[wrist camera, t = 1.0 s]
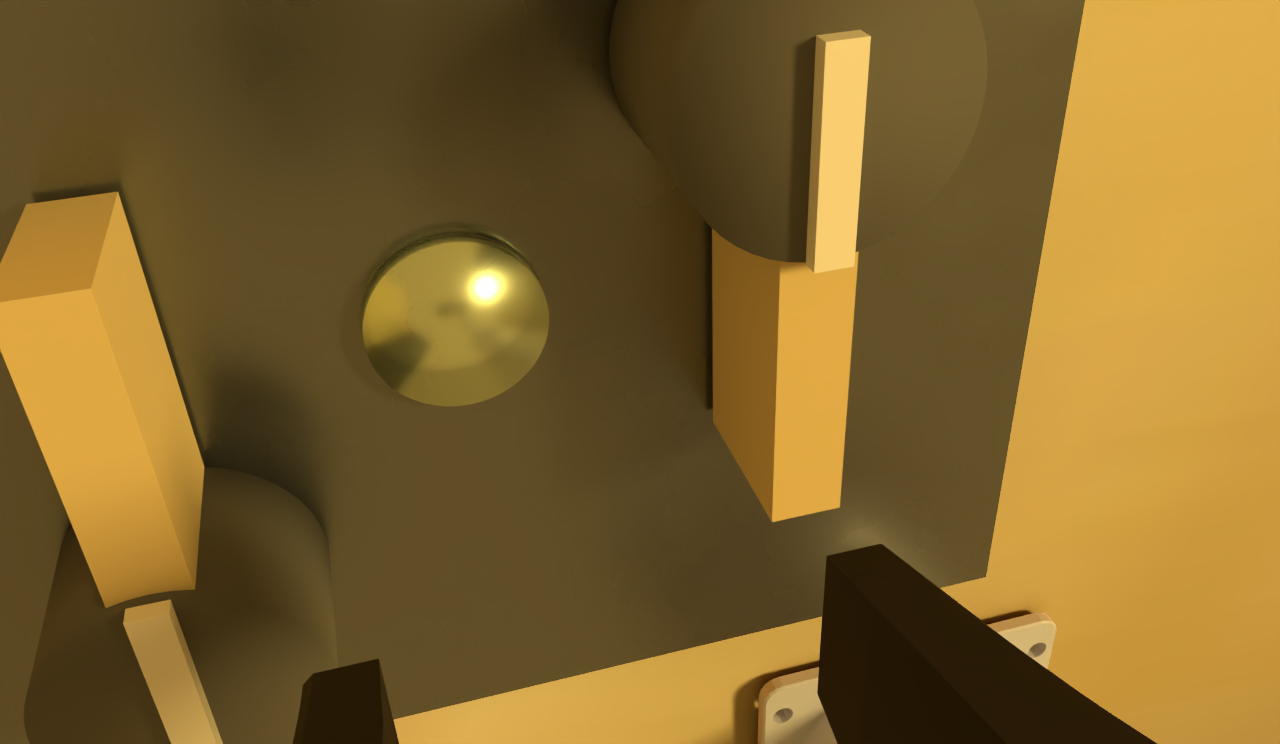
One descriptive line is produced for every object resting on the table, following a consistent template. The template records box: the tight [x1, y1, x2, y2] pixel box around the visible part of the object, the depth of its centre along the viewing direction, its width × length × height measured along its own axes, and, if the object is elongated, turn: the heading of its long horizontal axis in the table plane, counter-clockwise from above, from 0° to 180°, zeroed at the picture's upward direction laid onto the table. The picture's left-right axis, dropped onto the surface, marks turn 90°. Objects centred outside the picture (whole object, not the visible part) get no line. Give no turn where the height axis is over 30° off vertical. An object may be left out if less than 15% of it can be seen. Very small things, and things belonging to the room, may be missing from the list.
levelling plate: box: [0, 0, 1085, 744], centre depth 19 cm, size 18×22×2 cm
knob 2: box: [609, 0, 988, 522], centre depth 17 cm, size 9×4×4 cm, turn 2°
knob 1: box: [0, 192, 338, 744], centre depth 17 cm, size 9×4×4 cm, turn 2°
